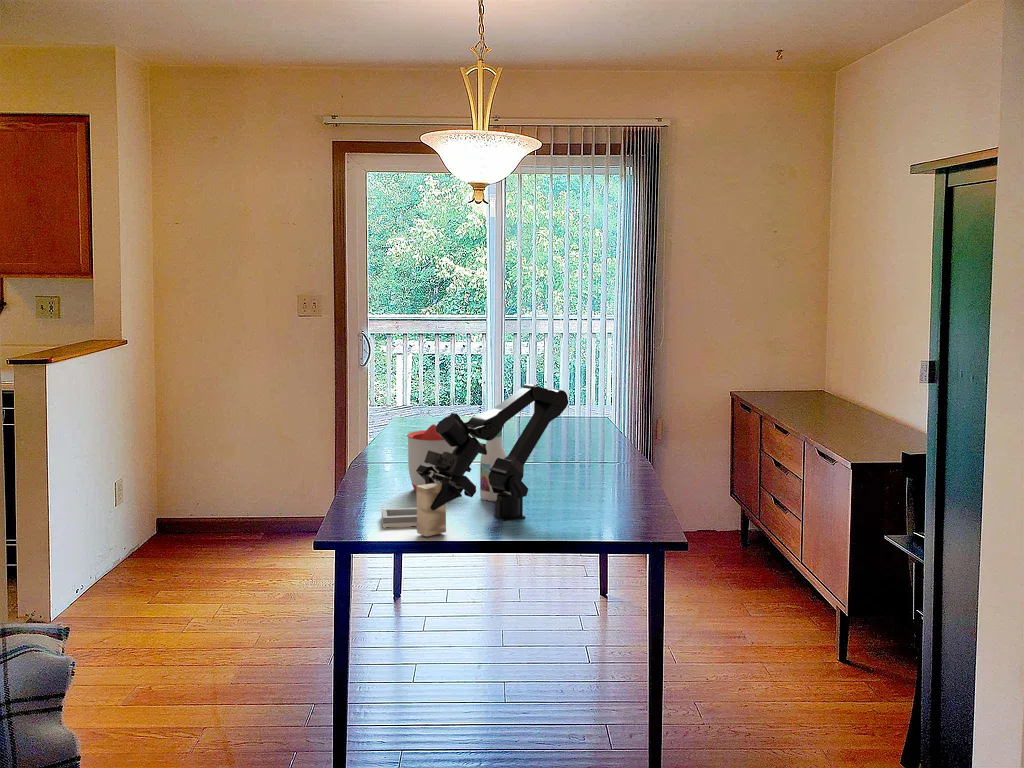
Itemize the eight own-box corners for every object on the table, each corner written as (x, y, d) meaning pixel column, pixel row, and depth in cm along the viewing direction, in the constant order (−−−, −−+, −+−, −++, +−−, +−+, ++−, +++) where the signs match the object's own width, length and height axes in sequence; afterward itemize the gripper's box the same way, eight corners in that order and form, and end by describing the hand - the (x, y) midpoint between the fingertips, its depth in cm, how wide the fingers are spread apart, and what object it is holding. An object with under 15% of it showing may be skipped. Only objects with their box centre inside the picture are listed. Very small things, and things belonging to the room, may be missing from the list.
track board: (441, 515, 255) (441, 506, 255) (445, 525, 245) (445, 515, 245) (381, 517, 252) (381, 508, 252) (383, 528, 243) (383, 518, 242)
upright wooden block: (436, 528, 240) (436, 482, 238) (446, 531, 237) (445, 485, 235) (417, 533, 236) (416, 485, 235) (426, 536, 233) (425, 488, 232)
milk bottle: (506, 495, 277) (506, 427, 275) (507, 501, 270) (507, 432, 267) (480, 495, 277) (480, 427, 274) (480, 501, 269) (480, 432, 267)
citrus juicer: (464, 497, 274) (463, 429, 272) (404, 496, 275) (403, 428, 272) (467, 484, 290) (467, 420, 287) (411, 484, 290) (410, 419, 288)
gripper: (421, 433, 243) (386, 481, 237) (466, 444, 229) (429, 496, 223) (446, 459, 249) (412, 507, 244) (491, 471, 235) (456, 522, 230)
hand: (426, 507), depth 235 cm, fingers closed on upright wooden block, 4 cm apart
